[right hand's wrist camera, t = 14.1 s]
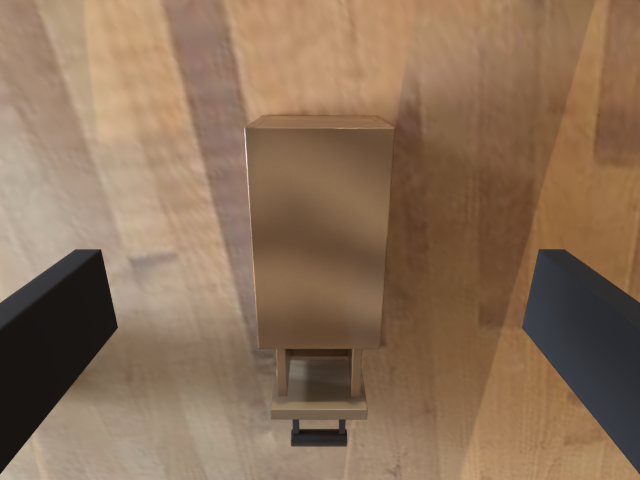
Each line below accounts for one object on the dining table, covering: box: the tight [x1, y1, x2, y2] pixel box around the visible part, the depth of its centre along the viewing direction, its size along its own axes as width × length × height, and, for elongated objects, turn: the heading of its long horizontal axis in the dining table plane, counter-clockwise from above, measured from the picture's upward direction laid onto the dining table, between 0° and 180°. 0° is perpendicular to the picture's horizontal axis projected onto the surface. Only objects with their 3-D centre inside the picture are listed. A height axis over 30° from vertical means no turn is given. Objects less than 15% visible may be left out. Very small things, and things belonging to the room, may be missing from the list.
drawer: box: [271, 349, 367, 447], centre depth 39 cm, size 22×9×7 cm, turn 0°
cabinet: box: [244, 115, 395, 349], centre depth 35 cm, size 18×10×9 cm, turn 0°
